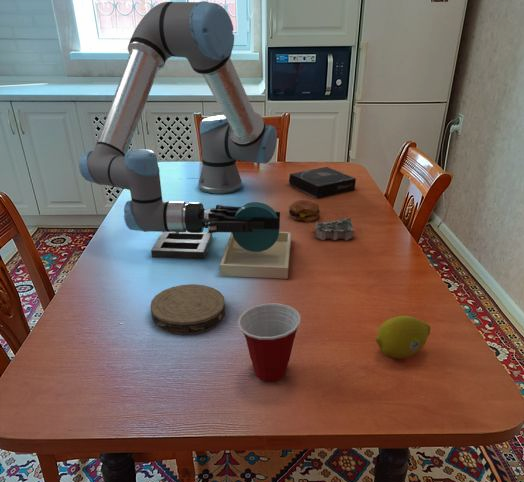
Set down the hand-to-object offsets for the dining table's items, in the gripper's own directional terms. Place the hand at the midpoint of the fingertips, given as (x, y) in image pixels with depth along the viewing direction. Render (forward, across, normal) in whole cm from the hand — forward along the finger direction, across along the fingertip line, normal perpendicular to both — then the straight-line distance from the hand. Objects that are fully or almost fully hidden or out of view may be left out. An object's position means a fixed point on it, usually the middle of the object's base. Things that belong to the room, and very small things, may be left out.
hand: (279, 220), depth 122 cm
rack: (-26, -5, -10) cm, 29 cm away
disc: (-6, 0, -2) cm, 6 cm away
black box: (+12, -59, -10) cm, 61 cm away
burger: (+6, -30, -10) cm, 32 cm away
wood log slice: (-18, +29, -11) cm, 35 cm away
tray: (-5, 0, -10) cm, 12 cm away
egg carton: (+15, -16, -11) cm, 25 cm away
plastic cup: (+1, +47, -11) cm, 48 cm away
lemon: (+26, +39, -11) cm, 48 cm away
